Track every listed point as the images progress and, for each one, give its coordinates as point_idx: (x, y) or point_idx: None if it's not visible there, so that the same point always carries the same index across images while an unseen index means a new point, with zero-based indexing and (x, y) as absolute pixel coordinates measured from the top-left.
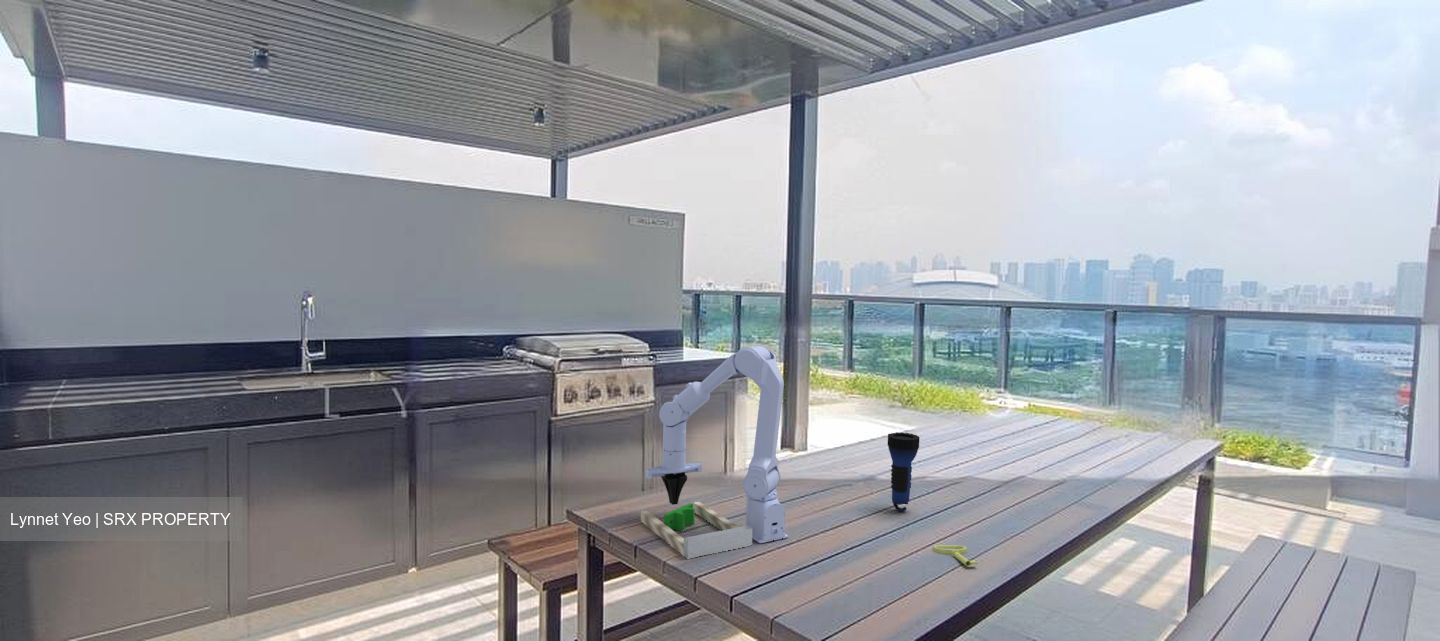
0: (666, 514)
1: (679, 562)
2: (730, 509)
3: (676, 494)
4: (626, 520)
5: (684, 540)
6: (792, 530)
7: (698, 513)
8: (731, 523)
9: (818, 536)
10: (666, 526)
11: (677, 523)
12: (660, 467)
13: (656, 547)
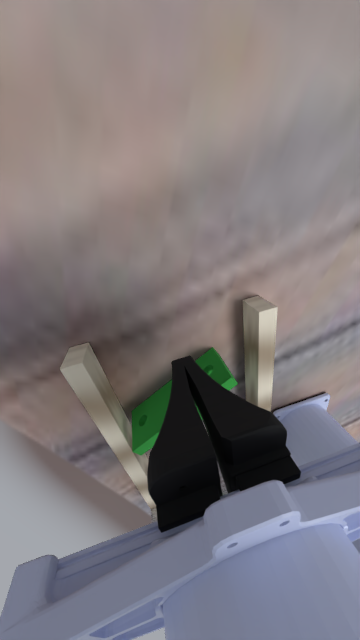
0: (139, 449)
1: (138, 498)
2: (335, 297)
3: (199, 411)
4: (13, 334)
5: (152, 521)
6: (341, 409)
7: (246, 330)
8: None
9: (350, 426)
10: (133, 458)
11: None
12: (147, 580)
13: (106, 467)
